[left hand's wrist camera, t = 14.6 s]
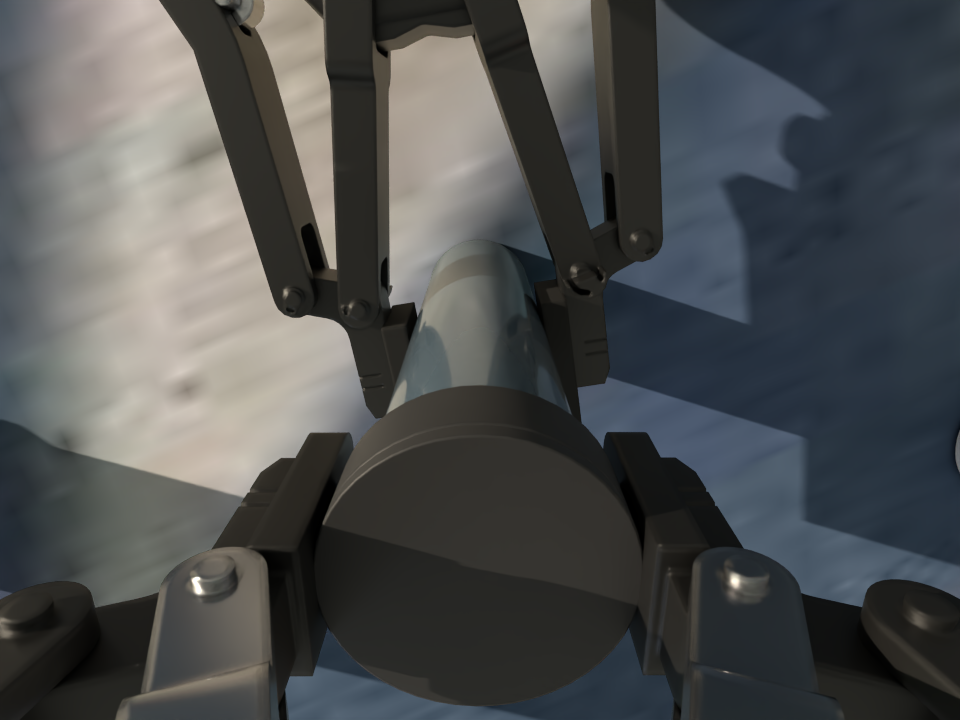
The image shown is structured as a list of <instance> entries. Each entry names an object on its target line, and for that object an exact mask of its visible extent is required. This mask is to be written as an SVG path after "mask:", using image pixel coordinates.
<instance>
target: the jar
mask: <svg viewBox="0 0 960 720" xmlns="http://www.w3.org/2000/svg"><path fill="white" fill-rule="evenodd" d="M472 385H487V386H499V387H506V388H511V389H515V390H520V391H524V392H527V393H530V394H533V395H536V396H538V397H541V398H543V399H545V400H547V401H549V402H551V403H553V404H555V405H557V406H559V407H560V408H562V409H563V410H565V411H566V412H568V413H569V414H571V410H570V407H569V404H568V401H567V398H566V395H565V392H564V389H563V386H562V383H561V380H560V377H559V373H558V370H557V367H556V364H555V361H554V358H553V355H552V352H551V349H550V346H549V343H548V340H547V336H546V333H545V330H544V327H543V324H542V321H541V318H540V315H539V312H538V309H537V306H536V303H535V299H534V296H533V293H532V290H531V287H530V284H529V281H528V278H527V275H526V272H525V269H524V267H523V265H522V264H521V262H520V260H519V259H518V258H517V257H516V255H515V254H513V253H512V252H511V251H510V250H509V249H507V248H506V247H504V246H502V245H500V244H498V243H495V242H492V241H488V240H471V241H466V242H463V243H460V244H458V245H456V246H454V247H452V248H451V249H449V250H448V251H447V252H446V253H445V254H444V255H443V256H442V257H441V258H440V259H439V261H438V262H437V264H436V266H435V268H434V270H433V273H432V276H431V279H430V282H429V285H428V288H427V291H426V294H425V297H424V300H423V303H422V306H421V309H420V312H419V315H418V318H417V321H416V324H415V327H414V330H413V333H412V336H411V339H410V343H409V346H408V349H407V352H406V355H405V358H404V361H403V364H402V367H401V370H400V373H399V376H398V379H397V382H396V385H395V388H394V391H393V394H392V397H391V400H390V403H389V406H388V409H387V412H386V414H388V413H389V412H390V411H392V410H394V409H395V408H397V407H399V406H400V405H402V404H404V403H405V402H408V401H410V400H412V399H415V398H417V397H419V396H421V395H424V394H427V393H431V392H434V391H438V390H441V389H446V388H452V387H458V386H472ZM571 415H572V414H571Z"/></svg>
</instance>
